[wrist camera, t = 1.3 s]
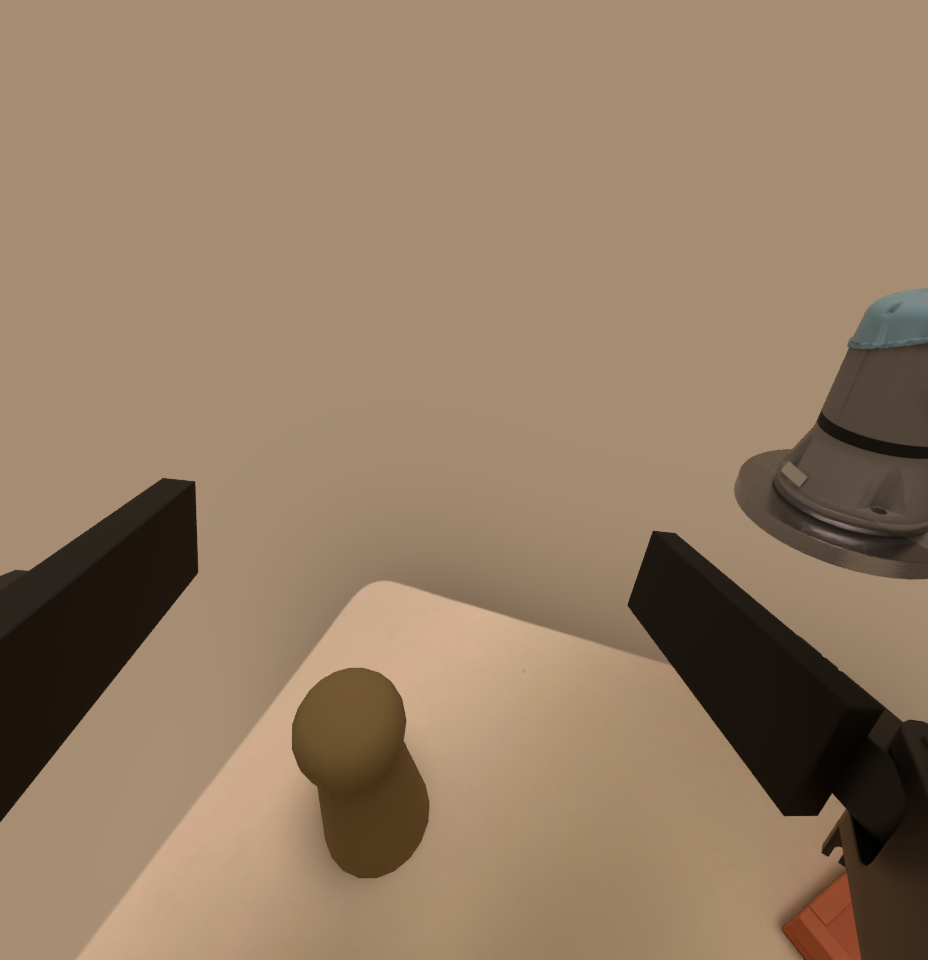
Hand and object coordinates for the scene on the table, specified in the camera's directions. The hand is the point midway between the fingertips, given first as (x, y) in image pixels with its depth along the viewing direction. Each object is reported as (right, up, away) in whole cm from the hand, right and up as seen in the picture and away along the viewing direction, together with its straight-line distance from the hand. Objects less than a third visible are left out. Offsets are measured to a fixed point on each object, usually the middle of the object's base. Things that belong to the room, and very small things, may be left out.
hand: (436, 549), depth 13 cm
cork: (-4, -17, +13) cm, 22 cm away
